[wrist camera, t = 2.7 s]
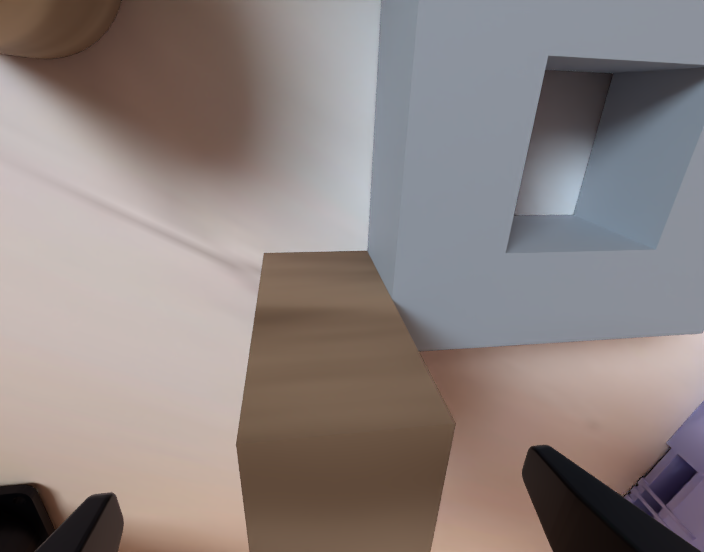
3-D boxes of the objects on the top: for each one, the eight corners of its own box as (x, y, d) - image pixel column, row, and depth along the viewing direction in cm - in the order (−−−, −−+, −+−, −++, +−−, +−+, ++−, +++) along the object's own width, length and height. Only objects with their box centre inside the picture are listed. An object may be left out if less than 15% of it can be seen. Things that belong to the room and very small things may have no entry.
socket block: (619, 285, 18) (702, 333, 14) (364, 296, 16) (387, 353, 13) (735, -37, 13) (907, -87, 9) (385, -75, 11) (432, -154, 8)
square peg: (362, 336, 17) (430, 552, 9) (269, 341, 16) (252, 578, 8) (367, 251, 15) (456, 423, 7) (263, 253, 15) (236, 444, 7)
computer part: (470, 629, 31) (608, 632, 35) (496, 704, 27) (647, 697, 31) (730, 319, 21) (881, 374, 25) (829, 370, 17) (988, 425, 21)
